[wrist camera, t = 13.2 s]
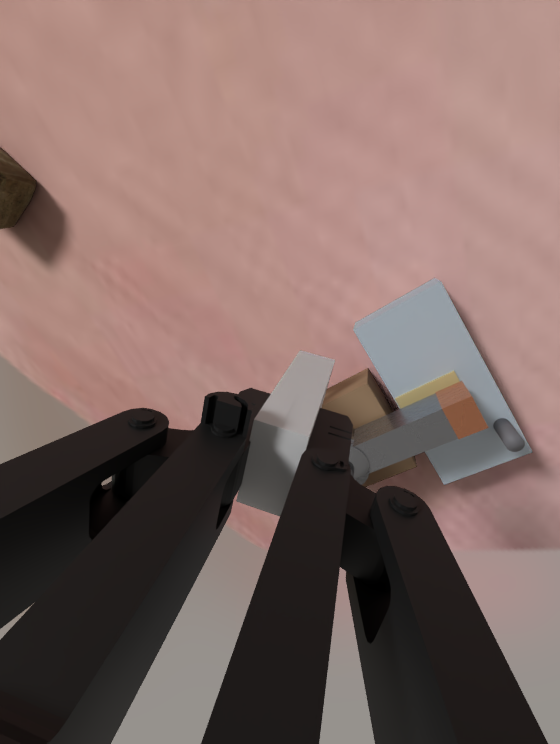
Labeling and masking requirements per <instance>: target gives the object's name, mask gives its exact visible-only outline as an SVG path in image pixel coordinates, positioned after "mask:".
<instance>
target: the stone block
mask: <svg viewBox="0 0 560 744" xmlns="http://www.w3.org/2000/svg"><path fill="white" fill-rule="evenodd" d="M35 186H36V180H34V179H33V178H32V177H31V176H30V175H29V174H28V172H26V171H25V170H24V169H23V168H22V167H21V166H20V165H19V164H18V163H16V162H15V161H14V160H13V159H12V158H10V156H9V155H8V154H7V153H6V152H4V151H3V150H2V149H1V148H0V229H3V228H10V227H14V225H15V224H16V222H17V221H18V219H19V218H20V216H21V215H22V213H23V211H24V210H25V208H26V207H27V205H28V204H29V202H30V200H31V198H32V196H33V193H34V191H35Z"/></svg>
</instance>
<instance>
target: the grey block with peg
mask: <svg viewBox="0 0 560 744" xmlns="http://www.w3.org/2000/svg"><path fill="white" fill-rule="evenodd" d="M353 330H354V332H355V334H356V335H357V337H358V339H359V340H360V342H361V344H362V346H363V347H364V349H365V351H366V352H367V354H368V356H369V358H370V359H371V361H372V363H373V364H374V366H375V368H376V369H377V371H378V373H379V375H380V376H381V378H382V380H383V381H384V383H385V385H386V386H387V388H388V390H389V392H390V393H391V395H392V397H393V398H394V400H395V402H396V404H397V405H398V407H399V409H401V408H403V407H406V406H408V405H410V404H412V403H415V402H417V401H419V400H421V399H424V398H426V397H428V396H430V395H433V394H435V392H437V391H440V390H442V389H444V388H446V387H449V386H451V385H453V384H455V383H458V382H460V381H462V382H463V383H464V385H465V386H466V388H467V389H468V391H469V392H470V394H471V396H472V397H473V399H474V401H475V403H476V405H477V407H478V409H479V410H480V412H481V414H482V416H483V418H484V420H485V422H486V424H487V426H488V427H489V428H487V429H484V430H482V431H479V432H477V433H474V434H471V435H469V436H466V437H464V438H461V439H456V440H453V441H451V442H448V443H446V444H443V445H440V446H438V447H435V448H433V449H430V450H428V451H425V453H426V455H427V456H428V458H429V460H430V461H431V463H432V465H433V467H434V468H435V470H436V472H437V473H438V475H439V477H440V478H441V480H442V482H443V484H444V485H445V484H448V483H451V482H453V481H456V480H459V479H461V478H464V477H467V476H470V475H472V474H475V473H478V472H480V471H483V470H486V469H489V468H491V467H494V466H497V465H499V464H502V463H505V462H508V461H510V460H513V459H516V458H518V457H521V456H524V455H527V454H529V453H532V450H531V448H530V446H529V444H528V442H527V441H526V439H525V437H524V435H523V433H522V431H521V429H520V428H519V426H518V424H517V422H516V420H515V418H514V416H513V415H512V413H511V411H510V409H509V407H508V405H507V403H506V401H505V400H504V398H503V396H502V394H501V392H500V390H499V388H498V387H497V385H496V383H495V381H494V379H493V377H492V375H491V374H490V372H489V370H488V368H487V366H486V364H485V362H484V361H483V359H482V357H481V355H480V353H479V351H478V349H477V348H476V346H475V344H474V342H473V340H472V338H471V336H470V334H469V333H468V331H467V329H466V327H465V325H464V323H463V321H462V320H461V318H460V316H459V314H458V312H457V310H456V308H455V307H454V305H453V303H452V301H451V299H450V297H449V295H448V294H447V292H446V290H445V288H444V286H443V284H442V282H441V281H440V280H438V279H436V278H434V279H432V280H430V281H428V282H427V283H425V284H423V285H421V286H419V287H418V288H416V289H414V290H412V291H411V292H409V293H407V294H405V295H403V296H402V297H400V298H398V299H396V300H395V301H393V302H391V303H389V304H388V305H386V306H384V307H382V308H380V309H379V310H377V311H375V312H373V313H372V314H370V315H368V316H366V317H365V318H363V319H361V320H359V321H357V322H356V323H355V325H354V329H353Z"/></svg>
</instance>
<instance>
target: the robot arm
mask: <svg viewBox="0 0 560 744" xmlns="http://www.w3.org/2000/svg"><path fill="white" fill-rule="evenodd" d="M334 362H335V360H333V359H330V358H326V357H323V356H319V355H316V354H312V353H309V352H305V351H302V350H300V351H299V352H298V354H297V355H296V357H295V358H294V360H293V361H292V363H291V364H290V366H289V368H288V369H287V371H286V372H285V374H284V375H283V377H282V378H281V380H280V381H279V383H278V384H277V386H276V387H275V389H274V390H273V392H272V393H271V394H269V393H266V392H263V391H259V390H256V389H253V388H249V389H246V390H244V391H241V392H240V393H239V394H234V393H230V392H215V393H210V394H208V395H206V396H205V399H204V406H203V412H202V418H201V423H200V424H199V426H198V427H197V428H196V429H195V430H178V429H170V428H168V426H169V421H168V418H167V416H165V415H164V414H162V413H161V412H158V411H156V410H153V409H147V408H138V409H130V410H127V411H124V412H121V413H119V414H117V415H114V416H112V417H110V418H107V419H105V420H103V421H100V422H98V423H96V424H93V425H91V426H89V427H86V428H84V429H82V430H79V431H77V432H75V433H72V434H70V435H68V436H65V437H63V438H61V439H59V440H56V441H54V442H51V443H49V444H47V445H44V446H42V447H40V448H37V449H35V450H33V451H30V452H28V453H26V454H23V455H21V456H19V457H16V458H14V459H12V460H9V461H7V462H5V463H2V464H0V628H2V627H3V626H4V625H6V624H7V623H8V622H10V621H11V620H12V619H14V618H15V617H16V616H17V615H19V614H20V613H21V612H23V611H24V610H25V609H27V608H28V607H29V606H31V605H32V604H33V603H34V602H35V603H34V604H33V605H32V606H31V607H30V608H29V609H28V611H27V612H26V613H25V614H24V615H23V616H22V617H21V618H20V619H19V620H18V621H17V622H16V623H15V625H14V626H13V627H12V628H11V629H10V630H9V631H8V632H7V633H6V634H5V635H4V637H3V638H2V639H1V640H0V744H111V742H112V740H113V738H114V736H115V734H116V732H117V730H118V729H119V727H120V725H121V723H122V721H123V719H124V717H125V715H126V713H127V711H128V709H129V707H130V705H131V703H132V702H133V700H134V698H135V696H136V694H137V692H138V690H139V688H140V686H141V684H142V683H143V681H144V679H145V677H146V675H147V673H148V671H149V669H150V667H151V665H152V663H153V661H154V659H155V657H156V656H157V654H158V652H159V650H160V648H161V646H162V644H163V642H164V640H165V638H166V636H167V634H168V632H169V630H170V629H171V627H172V625H173V623H174V621H175V619H176V617H177V615H178V613H179V611H180V610H181V608H182V606H183V604H184V602H185V600H186V598H187V596H188V594H189V592H190V590H191V588H192V586H193V584H194V583H195V581H196V579H197V577H198V575H199V573H200V571H201V569H202V567H203V565H204V563H205V561H206V560H207V558H208V556H209V554H210V552H211V550H212V548H213V546H214V544H215V542H216V540H217V538H218V536H219V535H220V533H221V531H222V529H223V527H224V525H225V523H226V521H227V519H228V517H229V515H230V513H231V509H232V504H233V499H234V497H235V495H236V494H237V492H238V490H239V492H238V496H237V502H240V503H243V504H246V505H248V506H251V507H254V508H257V509H260V510H263V511H266V512H269V513H272V514H274V515H277V516H280V519H279V521H278V524H277V527H276V530H275V533H274V536H273V539H272V542H271V544H270V547H269V550H268V553H267V556H266V559H265V562H264V565H263V568H262V571H261V573H260V576H259V579H258V582H257V585H256V588H255V590H254V594H253V596H252V599H251V602H250V605H249V608H248V610H247V613H246V616H245V619H244V622H243V625H242V628H241V631H240V633H239V636H238V639H237V642H236V645H235V648H234V651H233V654H232V656H231V659H230V662H229V665H228V668H227V671H226V674H225V676H224V679H223V682H222V685H221V688H220V691H219V694H218V697H217V699H216V702H215V705H214V708H213V711H212V714H211V717H210V720H209V723H208V725H207V728H206V731H205V734H204V737H203V740H202V743H201V744H319V739H320V730H321V721H322V713H323V705H324V696H325V688H326V679H327V670H328V661H329V654H330V645H331V636H332V628H333V619H334V611H335V602H336V593H337V585H338V576H339V568H340V567H341V568H342V569H344V570H345V571H346V583H347V588H348V594H349V600H350V606H351V610H352V616H353V622H354V628H355V633H356V639H357V645H358V650H359V656H360V662H361V667H362V672H363V678H364V684H365V689H366V695H367V700H368V706H369V711H370V717H371V723H372V728H373V734H374V740H375V744H548V743H547V741H546V739H545V737H544V735H543V733H542V731H541V729H540V727H539V725H538V723H537V721H536V719H535V717H534V715H533V713H532V711H531V709H530V707H529V705H528V703H527V701H526V699H525V697H524V695H523V693H522V691H521V689H520V687H519V685H518V683H517V681H516V679H515V677H514V675H513V673H512V671H511V670H510V667H509V665H508V663H507V661H506V659H505V657H504V655H503V653H502V651H501V649H500V647H499V645H498V643H497V642H496V639H495V637H494V635H493V633H492V631H491V629H490V627H489V626H488V623H487V622H486V619H485V617H484V615H483V613H482V612H481V610H480V607H479V606H478V604H477V602H476V599H475V597H474V596H473V594H472V592H471V589H470V588H469V586H468V584H467V582H466V580H465V578H464V576H463V574H462V572H461V570H460V568H459V566H458V564H457V562H456V560H455V558H454V556H453V554H452V552H451V550H450V548H449V546H448V544H447V542H446V540H445V538H444V536H443V534H442V532H441V530H440V528H439V526H438V524H437V522H436V520H435V518H434V516H433V514H432V512H431V510H430V508H429V507H428V506H427V504H426V503H425V502H424V501H423V500H422V499H421V498H419V497H418V496H417V495H416V494H414V493H412V492H410V491H409V490H406V489H403V488H400V487H396V486H385V487H382V488H380V489H379V490H378V492H377V493H374V492H372V491H371V490H369V489H367V488H366V487H364V486H362V485H361V484H360V483H358V482H357V481H356V480H355V479H354V478H353V476H352V475H351V469H350V465H349V463H348V462H349V454H350V446H351V438H352V430H353V424H352V422H351V420H350V418H349V417H348V416H346V415H343V414H339V413H336V412H333V411H329V410H326V409H323V408H322V404H323V401H324V397H325V394H326V390H327V387H328V383H329V380H330V376H331V373H332V369H333V366H334ZM111 476H112V481H111V482H109V483H108V484H106V485H103V486H102V485H101V483H102V482H103V481H104V480H105V479H107V478H109V477H111Z"/></svg>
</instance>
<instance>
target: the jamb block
mask: <svg viewBox="0 0 560 744" xmlns="http://www.w3.org/2000/svg"><path fill="white" fill-rule="evenodd" d="M322 408H323V409H326V410H329V411H333V412H336V413H339V414H343V415H346V416H348V417H349V418H350V420H351V422H352V424H353V428H354V429H356V428H358V427H360V426H362V425H365V424H367V423H369V422H372V421H374V420H376V419H378V418H381V417H383V416H385V415H387V414H390V413H392V412H394V411H393V410H392V408H391V406H390V405H389V403H388V401H387V400H386V398H385V396H384V394H383V393H382V391H381V389H380V388H379V386H378V384H377V383H376V381H375V379H374V378H373V376H372V374H371V372H370V371H369V369H368V368H367V369H365V370H363V371H361V372H359V373H358V374H356V375H354V376H352V377H350V378H348V379H346V380H344V381H342V382H340V383H338V384H336V385H334V386H332V387H330V388H328V389H327V390H326V394H325V397H324V401H323V404H322ZM415 467H417V465H416V460H415V456H412V457H410V458H407V459H405V460H402V461H400V462H397V463H395V464H392V465H389V466H387V467H384V468H382V469H379V470H377V471H374V472H372V473H369V476H368V478H367V480H366V481H365V483H364V484H362V486H364V487H367V486H369V485H372V484H374V483H377V482H379V481H382V480H384V479H387V478H389V477H392V476H394V475H397V474H399V473H402V472H404V471H407V470H409V469H412V468H415Z"/></svg>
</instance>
